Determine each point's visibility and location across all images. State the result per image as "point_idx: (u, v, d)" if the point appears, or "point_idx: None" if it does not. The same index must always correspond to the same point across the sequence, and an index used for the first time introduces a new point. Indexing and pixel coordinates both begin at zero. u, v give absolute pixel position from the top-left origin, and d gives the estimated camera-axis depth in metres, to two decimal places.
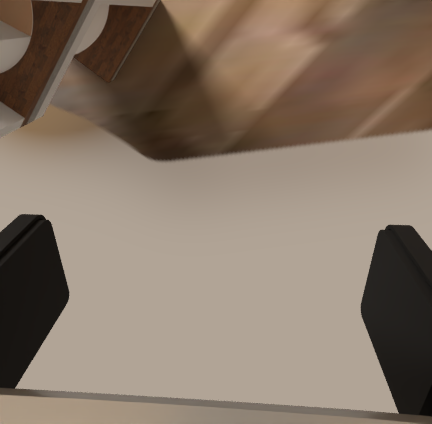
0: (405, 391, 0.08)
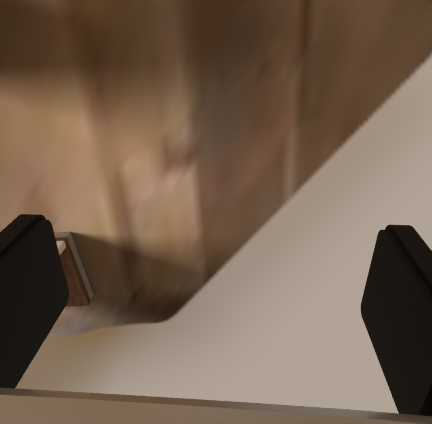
0: (405, 391, 0.08)
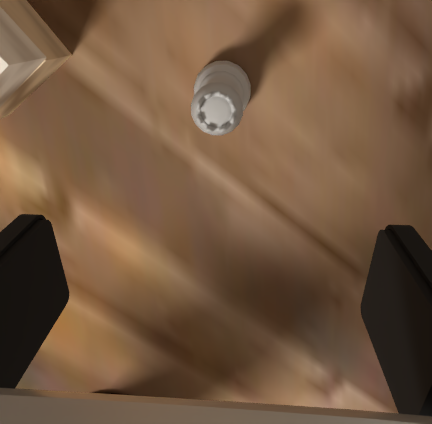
0: (405, 391, 0.08)
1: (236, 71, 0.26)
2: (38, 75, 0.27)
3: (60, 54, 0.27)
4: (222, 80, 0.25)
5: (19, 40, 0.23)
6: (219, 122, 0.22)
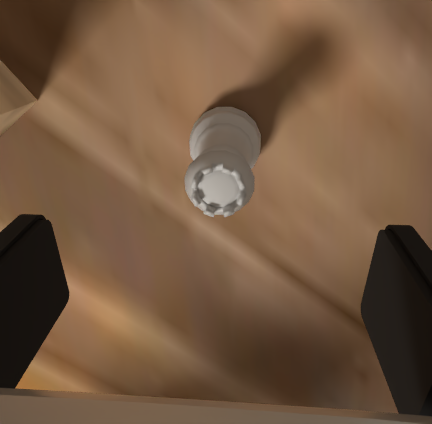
0: (405, 391, 0.08)
1: (243, 122, 0.21)
2: None
3: (20, 102, 0.21)
4: (225, 138, 0.19)
5: None
6: (223, 202, 0.17)
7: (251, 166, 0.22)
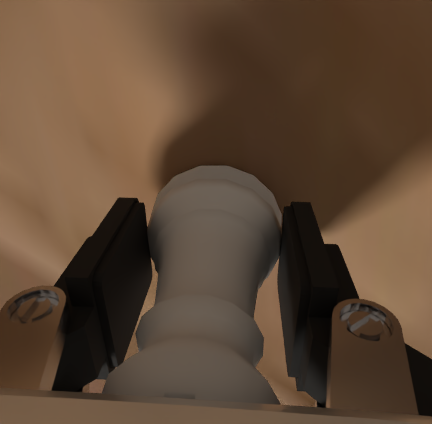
0: (288, 342, 0.09)
1: (249, 203, 0.10)
2: None
3: None
4: (212, 253, 0.09)
5: None
6: None
7: (264, 278, 0.12)
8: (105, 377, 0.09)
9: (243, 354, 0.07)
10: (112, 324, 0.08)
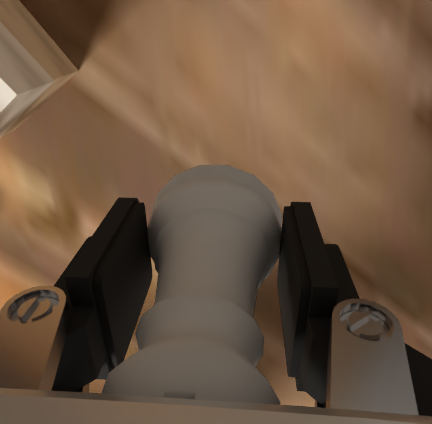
0: (288, 342, 0.09)
1: (249, 202, 0.10)
2: (44, 93, 0.26)
3: (66, 71, 0.26)
4: (212, 252, 0.09)
5: (27, 65, 0.22)
6: None
7: (264, 277, 0.12)
8: (105, 377, 0.09)
9: (243, 353, 0.07)
10: (112, 324, 0.08)
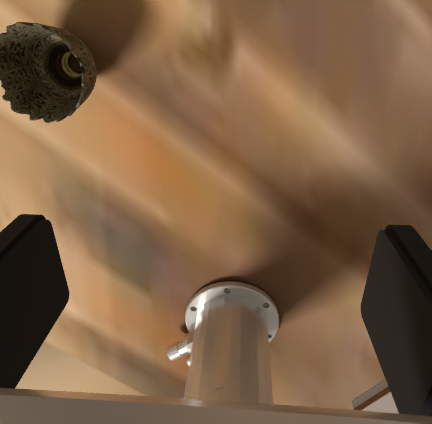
0: (405, 391, 0.08)
1: None
2: None
3: None
4: None
5: None
6: None
7: None
8: None
9: None
10: None
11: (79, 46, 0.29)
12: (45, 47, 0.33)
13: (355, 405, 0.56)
